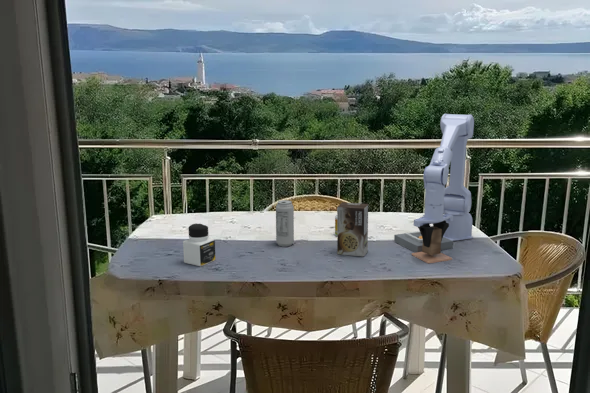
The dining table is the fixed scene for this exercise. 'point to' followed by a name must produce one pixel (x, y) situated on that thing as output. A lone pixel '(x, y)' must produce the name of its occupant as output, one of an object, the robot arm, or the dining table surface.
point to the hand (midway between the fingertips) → (432, 245)
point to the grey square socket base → (418, 241)
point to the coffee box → (352, 229)
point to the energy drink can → (284, 223)
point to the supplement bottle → (336, 225)
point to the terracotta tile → (431, 257)
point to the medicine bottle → (199, 246)
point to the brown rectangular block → (434, 242)
